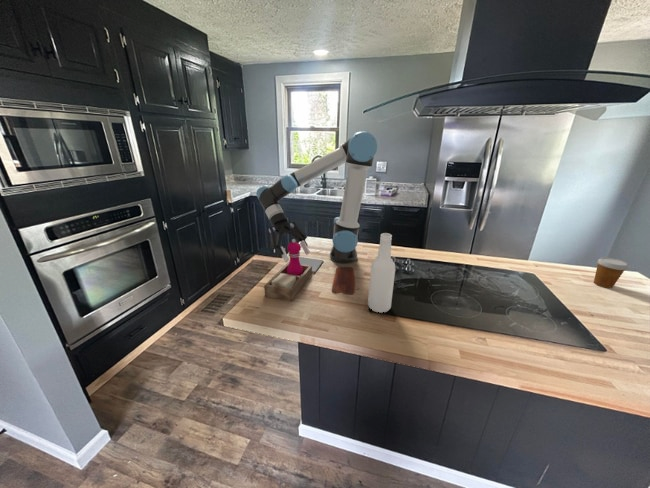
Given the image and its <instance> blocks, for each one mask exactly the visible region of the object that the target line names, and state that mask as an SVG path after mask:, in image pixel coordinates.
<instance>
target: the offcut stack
mask: <svg viewBox="0 0 650 488" xmlns="http://www.w3.org/2000/svg"><path fill="white" fill-rule="evenodd" d="M295 283H296V276H291V275H286V274H280V275H279V276H277V277H276V278H275V279H274V280H273V281H272V286H278V287H284V288H290V289H291V288H292V286H293V285H294V284H295Z"/></svg>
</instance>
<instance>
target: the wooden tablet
mask: <svg viewBox="0 0 650 488" xmlns="http://www.w3.org/2000/svg"><path fill="white" fill-rule="evenodd" d="M355 290H356V276H355V269H354V267H353V266H338V267H337V268H336V269H335V273H334V277H333V282H332V286H331V292H332V293H333V294H344V295H347V296H349V295H351V296H352V295H354V294H355Z"/></svg>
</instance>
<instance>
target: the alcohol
mask: <svg viewBox="0 0 650 488" xmlns="http://www.w3.org/2000/svg"><path fill="white" fill-rule="evenodd" d="M392 237H393V235H392V234H391V233H388V232H383V233H381V234H380V237H379V239H380V240H379V246H378V251H377V252H378V253H377V256H376V257H375V258H374V259H373V261H372V262H371V265H370V276H369V286H368V287H369V288H368V300H367V306H368V307H369V309H370V310H371V309H372V311H373V312H376V313H378V312H379V314H380V313H381V314H383V312H384V313H387V312H388V311H389V310H391V308H392V300H393V292H394V286H395V285H394V283H395V275H396V263H395V262H394V260H393V259H392V240H393V239H392Z"/></svg>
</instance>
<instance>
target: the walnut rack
mask: <svg viewBox="0 0 650 488" xmlns="http://www.w3.org/2000/svg"><path fill="white" fill-rule="evenodd" d="M289 262H290V261H287V262H286V264H285V265H284V266H283V267H282V268H281V269H280V270H278V271H277V272H276V273H275V274H274V275H273V276H272V277H271V278H270V279H269V280H268V281H267V282H266V283H265V284H264V285H263V289H264V297H267V298H272V299H279V300H283V301H288V302H294V300H295V298H297V296H298V295H299V293H300V292H301V291H302V289H303V288H304V287H305V286H306V284H307V282H308V281H309V280H310V278H311V277H312V276H313V273H312V266H310V265H303V264H301V266H302V269H303V272H302V274H301V276H297V275H291V274H288V273H287V268H288V265H289ZM280 274H286V275H291V276H296V283H295V284H294V285H293V286H292V288H291V289H290V288H284V287H278V286H272V281H273V280H274V279H275V278H276V277H277V276H279V275H280Z"/></svg>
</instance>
